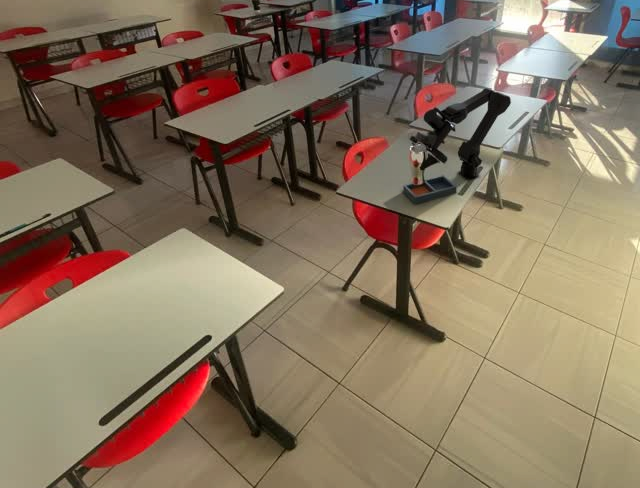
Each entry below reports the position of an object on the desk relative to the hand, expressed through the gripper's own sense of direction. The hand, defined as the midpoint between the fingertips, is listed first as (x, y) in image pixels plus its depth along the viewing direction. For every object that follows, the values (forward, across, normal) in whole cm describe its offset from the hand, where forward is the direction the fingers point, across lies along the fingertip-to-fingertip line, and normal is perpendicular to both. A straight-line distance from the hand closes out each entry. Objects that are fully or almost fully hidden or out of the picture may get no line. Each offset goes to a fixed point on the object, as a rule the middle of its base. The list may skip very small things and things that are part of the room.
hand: (415, 166), depth 164 cm
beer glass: (+4, 0, +6) cm, 8 cm away
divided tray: (+5, +2, +14) cm, 15 cm away
